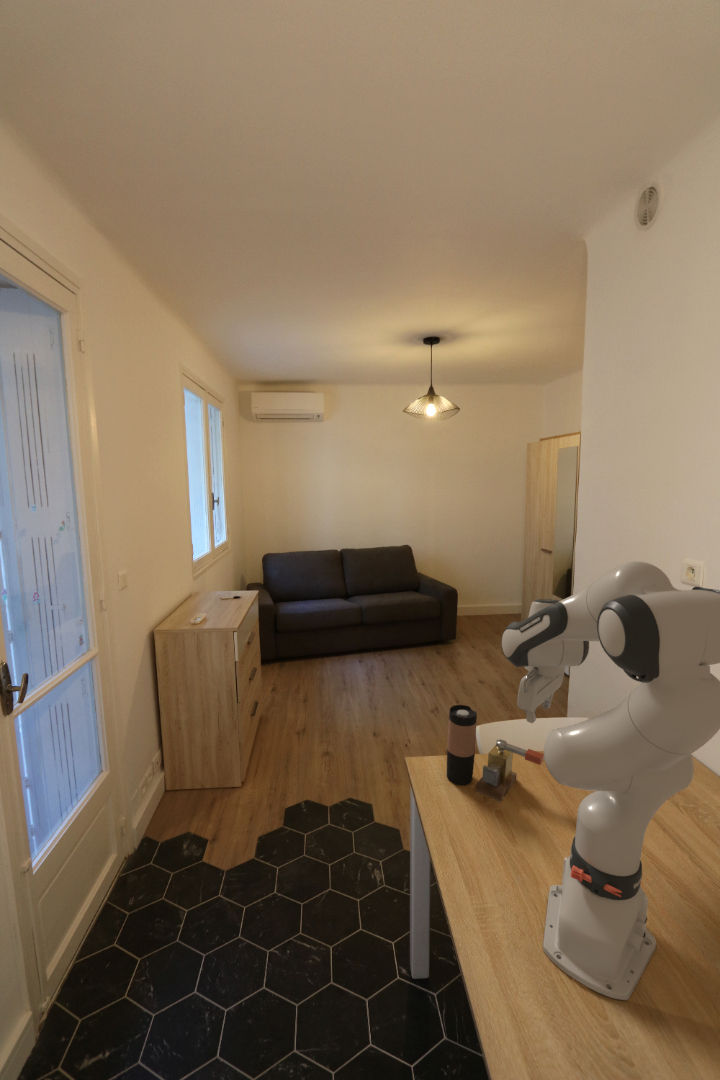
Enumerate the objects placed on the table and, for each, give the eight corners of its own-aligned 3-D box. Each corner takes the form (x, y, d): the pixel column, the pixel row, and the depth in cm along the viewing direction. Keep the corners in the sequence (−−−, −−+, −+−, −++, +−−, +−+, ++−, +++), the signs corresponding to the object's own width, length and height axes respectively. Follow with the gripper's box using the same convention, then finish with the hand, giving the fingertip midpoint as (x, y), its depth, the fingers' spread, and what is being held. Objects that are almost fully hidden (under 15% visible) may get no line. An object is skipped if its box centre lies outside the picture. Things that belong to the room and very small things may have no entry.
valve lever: (494, 748, 132) (494, 742, 132) (498, 743, 134) (498, 737, 134) (540, 765, 125) (540, 758, 124) (543, 760, 127) (544, 754, 127)
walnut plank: (500, 802, 125) (500, 795, 125) (475, 791, 130) (475, 784, 129) (516, 779, 135) (516, 773, 135) (492, 770, 139) (492, 763, 139)
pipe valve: (497, 792, 126) (499, 764, 125) (479, 785, 129) (481, 757, 128) (512, 772, 135) (514, 746, 134) (495, 765, 138) (497, 740, 137)
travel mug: (444, 783, 133) (447, 715, 130) (447, 767, 140) (450, 702, 137) (472, 788, 131) (476, 720, 128) (474, 772, 138) (478, 707, 135)
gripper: (539, 679, 109) (534, 735, 111) (570, 654, 124) (565, 704, 126) (512, 671, 113) (508, 725, 115) (546, 647, 128) (542, 696, 130)
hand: (538, 714), depth 121 cm, fingers open, 8 cm apart
